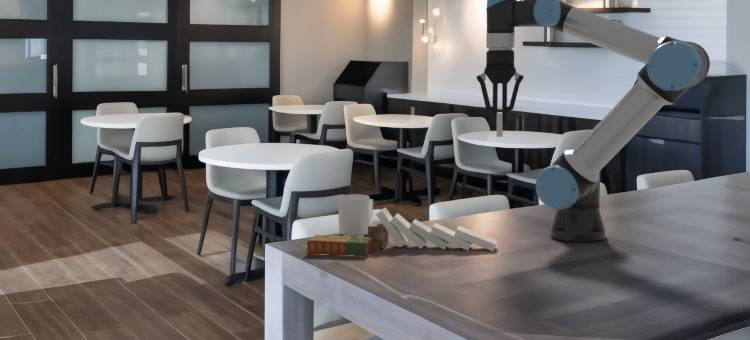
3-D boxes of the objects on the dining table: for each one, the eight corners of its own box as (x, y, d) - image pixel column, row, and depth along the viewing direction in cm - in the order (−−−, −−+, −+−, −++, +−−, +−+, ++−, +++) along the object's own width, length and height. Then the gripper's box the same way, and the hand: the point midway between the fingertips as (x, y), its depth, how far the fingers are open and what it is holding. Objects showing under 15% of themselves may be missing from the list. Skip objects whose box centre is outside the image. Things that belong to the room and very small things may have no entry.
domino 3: (450, 239, 233) (415, 218, 234) (447, 243, 228) (412, 222, 229) (446, 245, 233) (411, 225, 235) (444, 249, 229) (408, 228, 230)
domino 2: (428, 239, 234) (397, 212, 235) (425, 243, 229) (394, 216, 230) (423, 245, 235) (393, 218, 236) (420, 249, 230) (389, 221, 231)
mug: (354, 239, 243) (354, 200, 241) (332, 235, 249) (331, 197, 247) (383, 232, 252) (382, 195, 250) (361, 229, 258) (360, 192, 256)
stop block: (388, 242, 238) (388, 221, 238) (382, 248, 231) (382, 226, 230) (374, 242, 239) (374, 220, 238) (368, 248, 231) (367, 226, 231)
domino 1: (408, 240, 235) (385, 207, 236) (405, 244, 231) (381, 210, 231) (402, 244, 236) (379, 211, 236) (399, 248, 231) (375, 214, 231)
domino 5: (497, 240, 230) (458, 225, 232) (496, 244, 226) (456, 229, 227) (494, 247, 231) (456, 232, 232) (493, 251, 226) (453, 236, 227)
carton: (315, 249, 233) (315, 233, 232) (374, 251, 230) (373, 235, 229) (307, 256, 225) (306, 240, 224) (367, 258, 221) (367, 242, 221)
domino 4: (472, 240, 232) (435, 222, 233) (471, 244, 227) (433, 226, 228) (469, 246, 232) (432, 229, 234) (467, 250, 227) (429, 233, 229)
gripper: (525, 49, 237) (523, 135, 240) (477, 49, 239) (476, 134, 242) (524, 49, 229) (523, 137, 232) (475, 49, 232) (474, 137, 235)
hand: (499, 136), depth 237 cm, fingers closed
